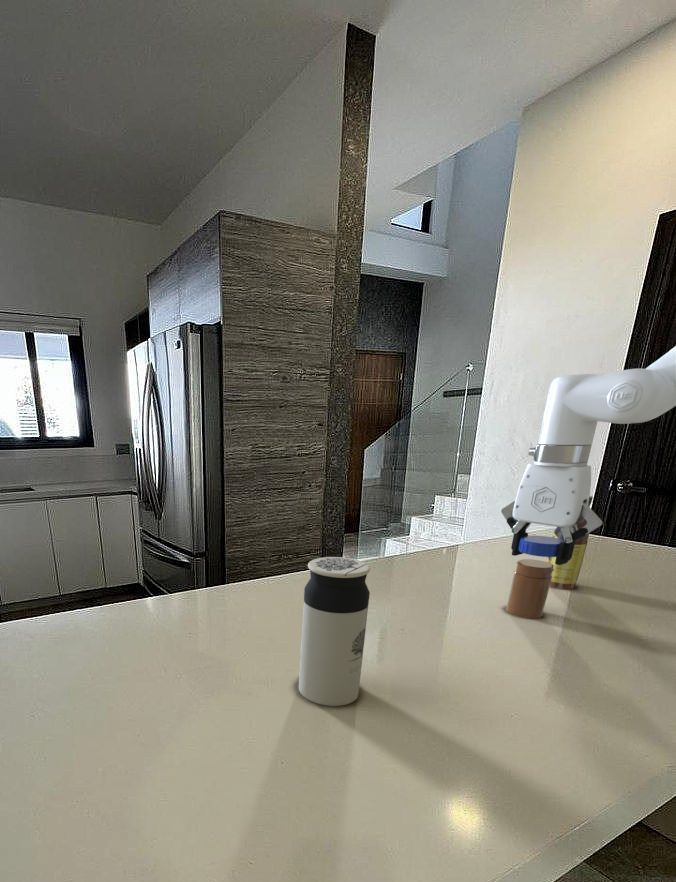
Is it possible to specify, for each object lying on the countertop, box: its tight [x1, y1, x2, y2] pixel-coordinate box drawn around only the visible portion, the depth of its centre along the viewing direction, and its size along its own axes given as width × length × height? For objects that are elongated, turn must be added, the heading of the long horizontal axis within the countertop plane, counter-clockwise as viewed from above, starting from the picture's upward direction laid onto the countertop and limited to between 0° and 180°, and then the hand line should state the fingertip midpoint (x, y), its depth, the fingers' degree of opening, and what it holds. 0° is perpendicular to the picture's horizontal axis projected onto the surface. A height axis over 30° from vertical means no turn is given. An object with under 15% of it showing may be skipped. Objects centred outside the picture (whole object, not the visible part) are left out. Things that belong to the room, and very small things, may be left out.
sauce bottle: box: [546, 495, 594, 590], centre depth 102 cm, size 7×6×20 cm
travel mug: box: [298, 556, 371, 707], centre depth 62 cm, size 8×8×18 cm
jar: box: [505, 558, 554, 619], centre depth 89 cm, size 6×6×10 cm
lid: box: [518, 535, 563, 558], centre depth 86 cm, size 7×7×2 cm
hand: (538, 558), depth 86 cm, fingers closed on lid, 6 cm apart
